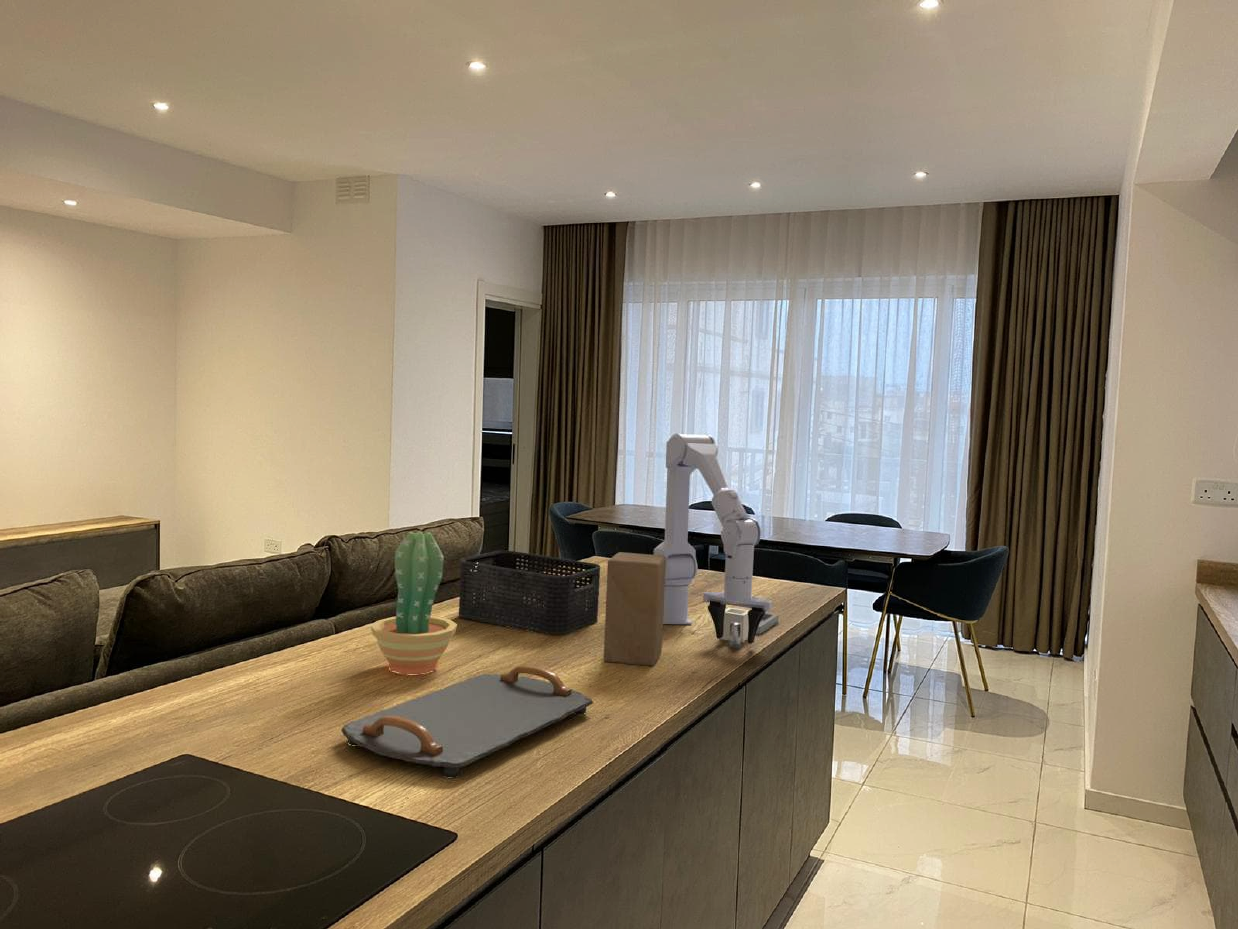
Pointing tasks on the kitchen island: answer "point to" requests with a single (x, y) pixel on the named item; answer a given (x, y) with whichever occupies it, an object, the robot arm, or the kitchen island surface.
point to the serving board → (467, 719)
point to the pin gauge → (735, 635)
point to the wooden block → (634, 608)
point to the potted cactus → (415, 609)
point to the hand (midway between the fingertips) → (735, 640)
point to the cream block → (736, 616)
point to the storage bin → (529, 592)
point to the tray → (767, 622)
